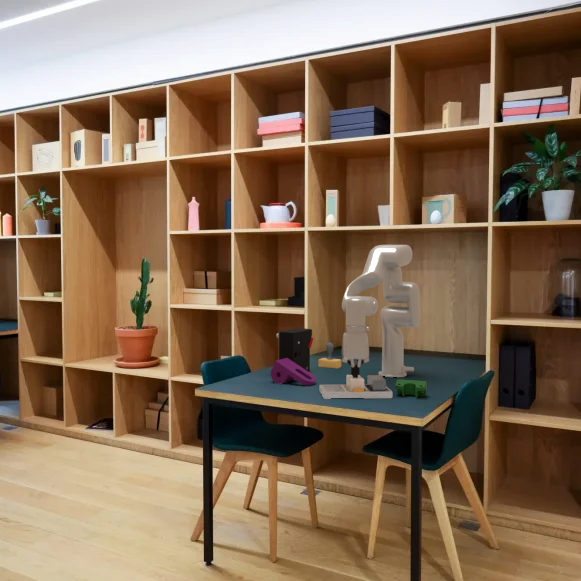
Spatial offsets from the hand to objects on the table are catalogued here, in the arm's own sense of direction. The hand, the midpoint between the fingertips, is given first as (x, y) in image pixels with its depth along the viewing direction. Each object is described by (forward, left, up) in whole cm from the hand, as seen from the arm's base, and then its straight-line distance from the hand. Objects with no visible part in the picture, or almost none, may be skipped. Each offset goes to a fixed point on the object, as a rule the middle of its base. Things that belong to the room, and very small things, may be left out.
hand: (355, 376), depth 240 cm
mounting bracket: (+21, -24, -7) cm, 33 cm away
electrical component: (+20, -44, -7) cm, 49 cm away
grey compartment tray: (0, 0, -7) cm, 7 cm away
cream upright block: (0, 0, -6) cm, 6 cm away
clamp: (-21, +4, -7) cm, 23 cm away
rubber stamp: (+1, -62, -7) cm, 62 cm away
